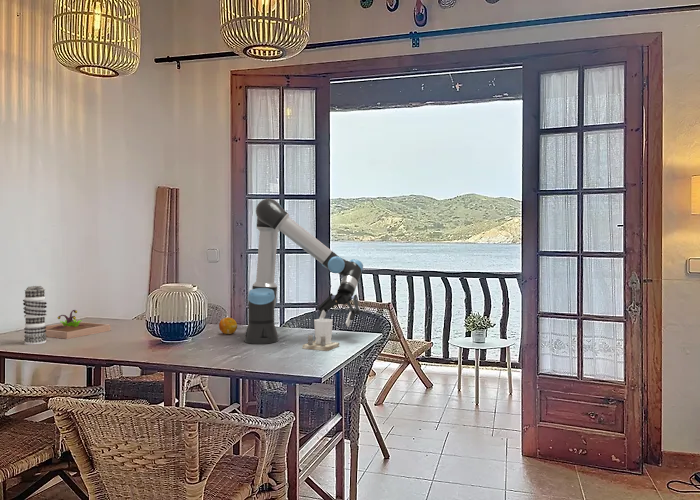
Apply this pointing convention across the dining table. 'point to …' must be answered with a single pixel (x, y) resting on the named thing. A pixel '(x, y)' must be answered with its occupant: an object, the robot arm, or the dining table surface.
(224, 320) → the fruit
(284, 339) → the dining table surface
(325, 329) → the white cup
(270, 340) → the robot arm
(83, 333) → the planter tray
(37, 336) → the decorative candle
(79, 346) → the dining table surface
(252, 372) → the dining table surface
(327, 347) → the board
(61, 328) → the plant
